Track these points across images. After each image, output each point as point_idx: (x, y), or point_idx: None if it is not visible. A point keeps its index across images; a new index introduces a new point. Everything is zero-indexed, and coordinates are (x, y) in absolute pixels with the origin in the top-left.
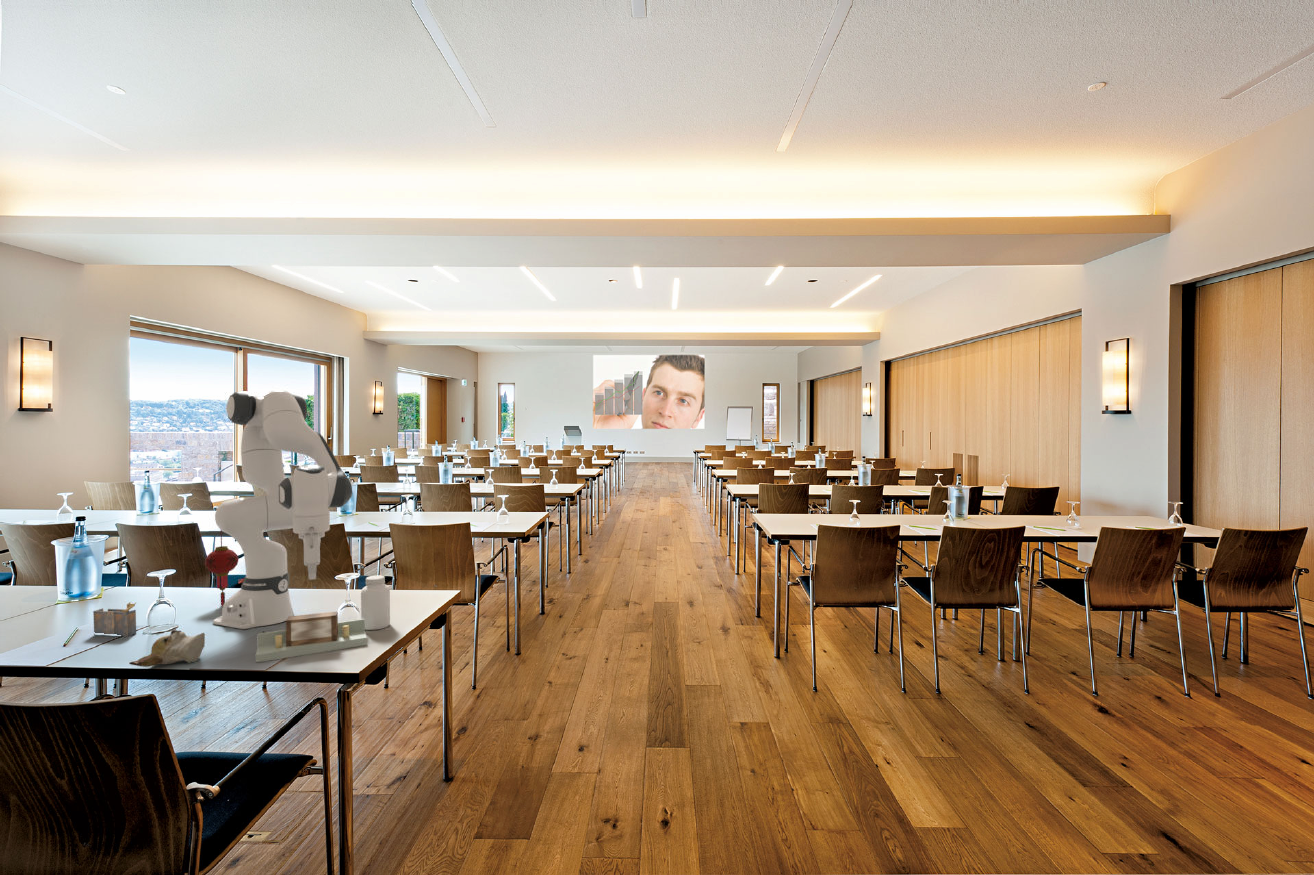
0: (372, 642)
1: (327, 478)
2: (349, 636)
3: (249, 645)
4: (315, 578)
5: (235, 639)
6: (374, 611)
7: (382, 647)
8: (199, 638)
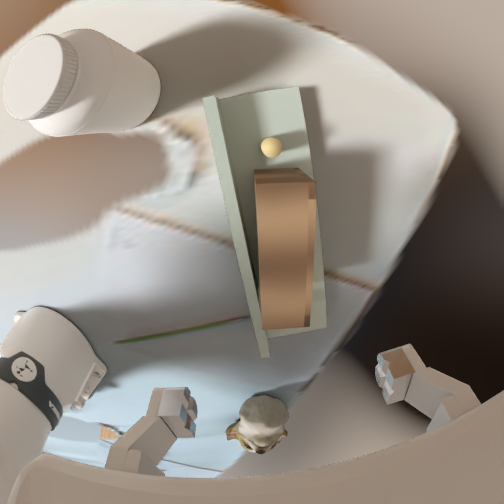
0: (277, 76)
1: None
2: (268, 135)
3: (202, 351)
4: (409, 345)
5: (159, 373)
6: (142, 77)
7: (331, 53)
8: (275, 422)
